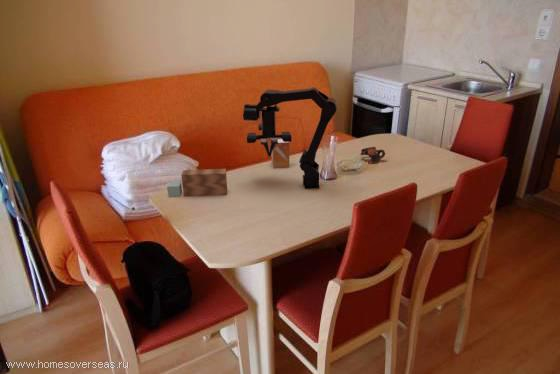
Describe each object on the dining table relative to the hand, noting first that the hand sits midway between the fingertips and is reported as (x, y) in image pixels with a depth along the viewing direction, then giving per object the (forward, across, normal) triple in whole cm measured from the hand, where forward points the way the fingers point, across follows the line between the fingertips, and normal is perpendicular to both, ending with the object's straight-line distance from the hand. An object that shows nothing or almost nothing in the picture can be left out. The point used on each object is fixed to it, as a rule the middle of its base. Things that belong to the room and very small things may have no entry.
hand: (269, 156), depth 187 cm
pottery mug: (+13, -52, -23) cm, 59 cm away
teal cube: (+13, +40, +7) cm, 43 cm away
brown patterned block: (+13, +28, +7) cm, 31 cm away
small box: (+13, -6, -21) cm, 26 cm away
